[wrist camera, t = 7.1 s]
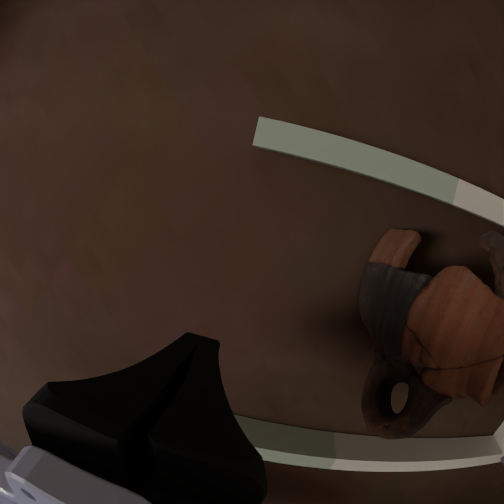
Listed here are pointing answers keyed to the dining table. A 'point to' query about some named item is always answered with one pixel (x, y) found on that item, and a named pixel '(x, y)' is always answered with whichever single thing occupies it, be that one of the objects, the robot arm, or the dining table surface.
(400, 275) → the brown piece
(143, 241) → the dining table surface
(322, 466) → the open rectangular rail frame
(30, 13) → the dining table surface
